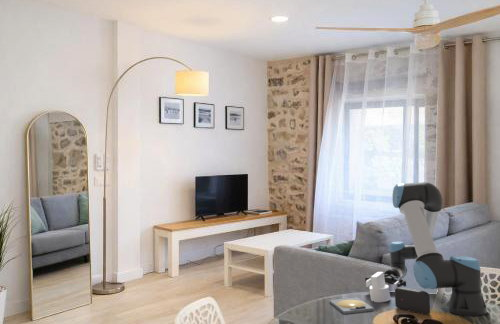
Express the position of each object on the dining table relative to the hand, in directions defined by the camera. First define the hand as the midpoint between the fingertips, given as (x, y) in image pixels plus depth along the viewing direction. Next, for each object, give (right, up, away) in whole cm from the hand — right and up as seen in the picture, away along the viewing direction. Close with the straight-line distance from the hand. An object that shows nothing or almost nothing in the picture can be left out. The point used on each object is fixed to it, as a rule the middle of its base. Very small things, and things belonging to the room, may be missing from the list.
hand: (380, 285), depth 231 cm
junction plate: (-16, -7, -9) cm, 20 cm away
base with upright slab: (0, -6, -1) cm, 6 cm away
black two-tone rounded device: (+9, -6, -20) cm, 23 cm away
